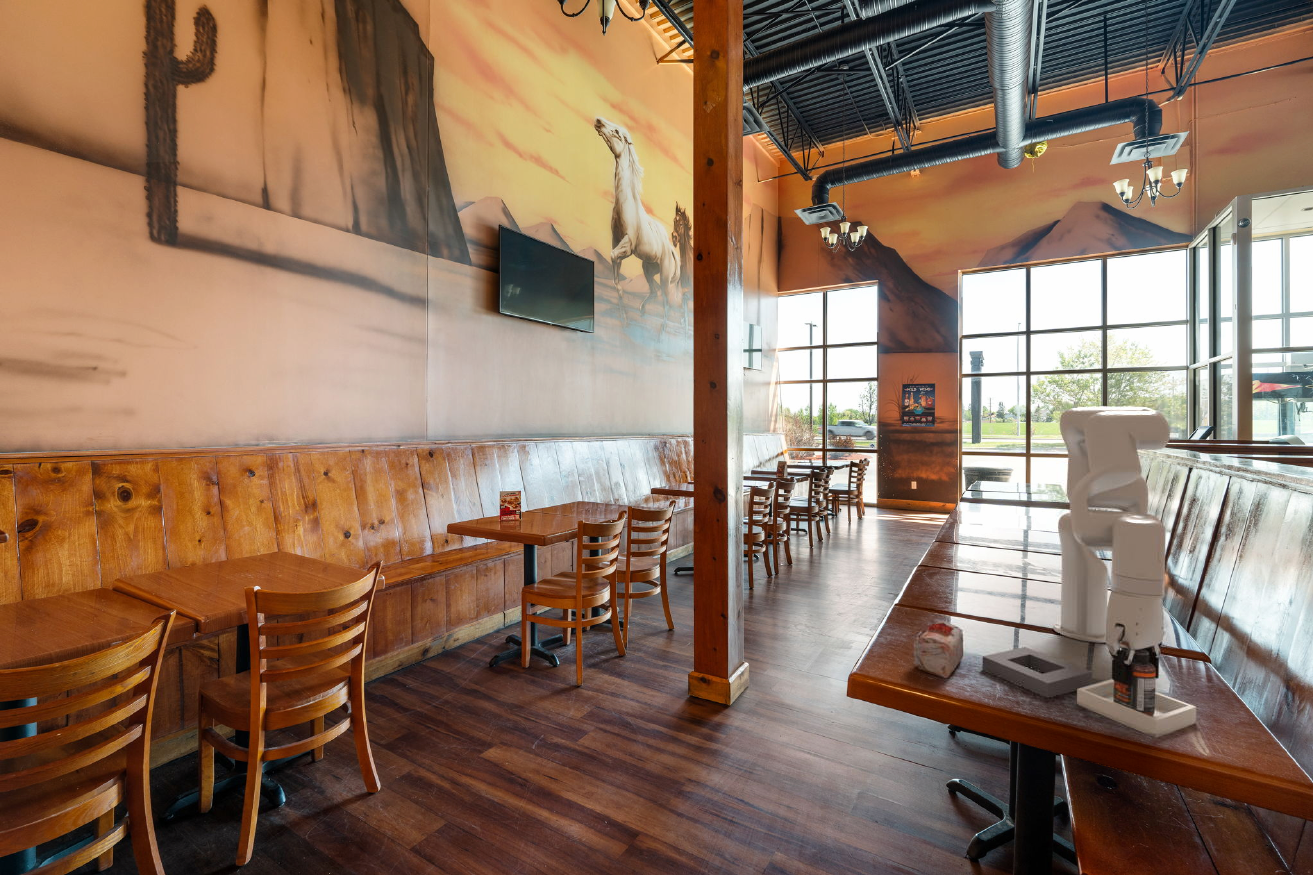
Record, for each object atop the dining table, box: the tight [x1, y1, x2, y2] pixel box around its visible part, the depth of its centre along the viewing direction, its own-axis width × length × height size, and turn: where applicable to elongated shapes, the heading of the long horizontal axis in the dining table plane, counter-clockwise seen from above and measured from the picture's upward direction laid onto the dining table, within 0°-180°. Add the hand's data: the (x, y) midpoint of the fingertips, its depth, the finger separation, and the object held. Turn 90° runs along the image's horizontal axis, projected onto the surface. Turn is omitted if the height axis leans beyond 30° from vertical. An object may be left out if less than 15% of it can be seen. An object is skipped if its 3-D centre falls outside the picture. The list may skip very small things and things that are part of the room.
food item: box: [913, 620, 964, 679], centre depth 125 cm, size 14×8×10 cm, turn 140°
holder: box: [982, 646, 1093, 699], centre depth 120 cm, size 14×14×3 cm
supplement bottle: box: [1113, 648, 1157, 716], centre depth 105 cm, size 6×6×11 cm
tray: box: [1076, 678, 1197, 739], centre depth 105 cm, size 13×13×3 cm
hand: (1135, 678), depth 105 cm, fingers open, 7 cm apart
